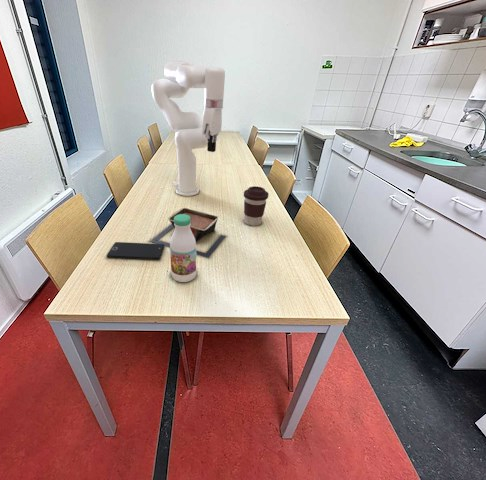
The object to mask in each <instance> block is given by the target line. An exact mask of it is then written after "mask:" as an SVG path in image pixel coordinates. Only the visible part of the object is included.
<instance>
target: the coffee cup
mask: <svg viewBox="0 0 486 480" xmlns="http://www.w3.org/2000/svg"><path fill="white" fill-rule="evenodd" d="M269 196H270V195H269V192H268V191H266V189H265V188H264V187H261V186H258V185H257V186H254V185H253V186H249V187H248V188H247V189H245V190H244V191H243V197H244V200H243V201H244V203H243V214H244V216H243V218H244V219H243V221H244V224H246V225H248V226H253V227H255V226H260V225H261V224H262V221H263V216H264V214H265V210H266V205H267V200H268V199H269Z"/></svg>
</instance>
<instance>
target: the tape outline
mask: <svg viewBox="0 0 486 480" xmlns="http://www.w3.org/2000/svg"><path fill="white" fill-rule="evenodd" d="M172 229H174V226H173V225H172V223H170V225H169V226H167V227H166V228H165V229H163V230H162V231H161V232H159V234H157V235H156V236H155V237H154V238H153V239H151V240H150V241H149V242H150V243H152V244H164V247H168V248H170V242H166V241H162V240H160V239H162V238H163V237H164V236H165V235H166V234H168V232H170V231H171V230H172ZM225 238H226V235H223V234H221V235H219V237H218V238H217V239H216V241H215V242H214V243H213V244H212V245H211V246H210V248H208V250H207V251H206V252H204V251H199V250H196V256H200V257H204V258H210V257H211V255H212V254H214V252H215V250H216V249H217V248H218V247H219V245H220V244H221V243H222V242H223V241H224V239H225Z"/></svg>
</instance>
